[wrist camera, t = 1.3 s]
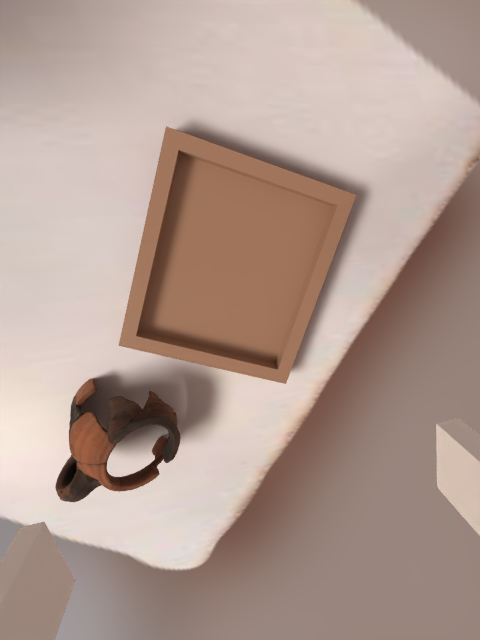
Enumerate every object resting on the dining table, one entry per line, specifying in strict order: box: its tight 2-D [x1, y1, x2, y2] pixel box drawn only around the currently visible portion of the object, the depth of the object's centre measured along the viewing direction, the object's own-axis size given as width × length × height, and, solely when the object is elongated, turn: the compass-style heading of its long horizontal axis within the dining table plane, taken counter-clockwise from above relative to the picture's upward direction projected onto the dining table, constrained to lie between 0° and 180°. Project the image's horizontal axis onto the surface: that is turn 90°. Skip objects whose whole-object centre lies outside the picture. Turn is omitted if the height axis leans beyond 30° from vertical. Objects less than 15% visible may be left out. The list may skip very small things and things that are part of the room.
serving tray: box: [119, 126, 356, 384], centre depth 28 cm, size 15×17×2 cm
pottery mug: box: [56, 379, 180, 502], centre depth 30 cm, size 12×10×8 cm
